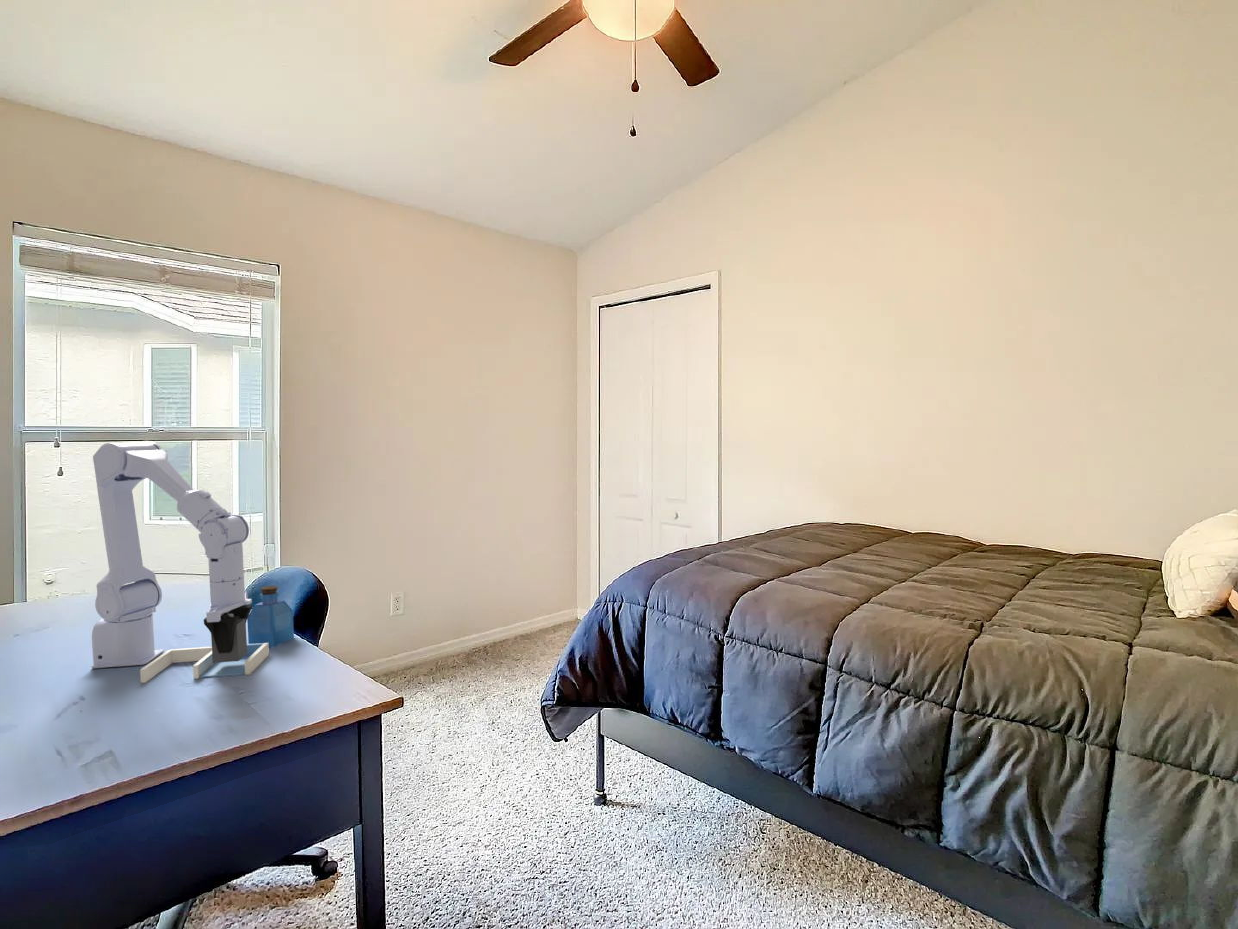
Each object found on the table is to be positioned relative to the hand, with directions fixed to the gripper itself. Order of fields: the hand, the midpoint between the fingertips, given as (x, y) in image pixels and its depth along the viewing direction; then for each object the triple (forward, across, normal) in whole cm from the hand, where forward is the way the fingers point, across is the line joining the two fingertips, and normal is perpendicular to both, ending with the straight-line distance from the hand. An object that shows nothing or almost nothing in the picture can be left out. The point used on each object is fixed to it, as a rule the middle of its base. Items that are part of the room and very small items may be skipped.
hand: (230, 647), depth 126 cm
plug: (+2, 0, 0) cm, 2 cm away
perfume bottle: (+4, +15, -3) cm, 16 cm away
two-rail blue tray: (+4, 0, +4) cm, 6 cm away
